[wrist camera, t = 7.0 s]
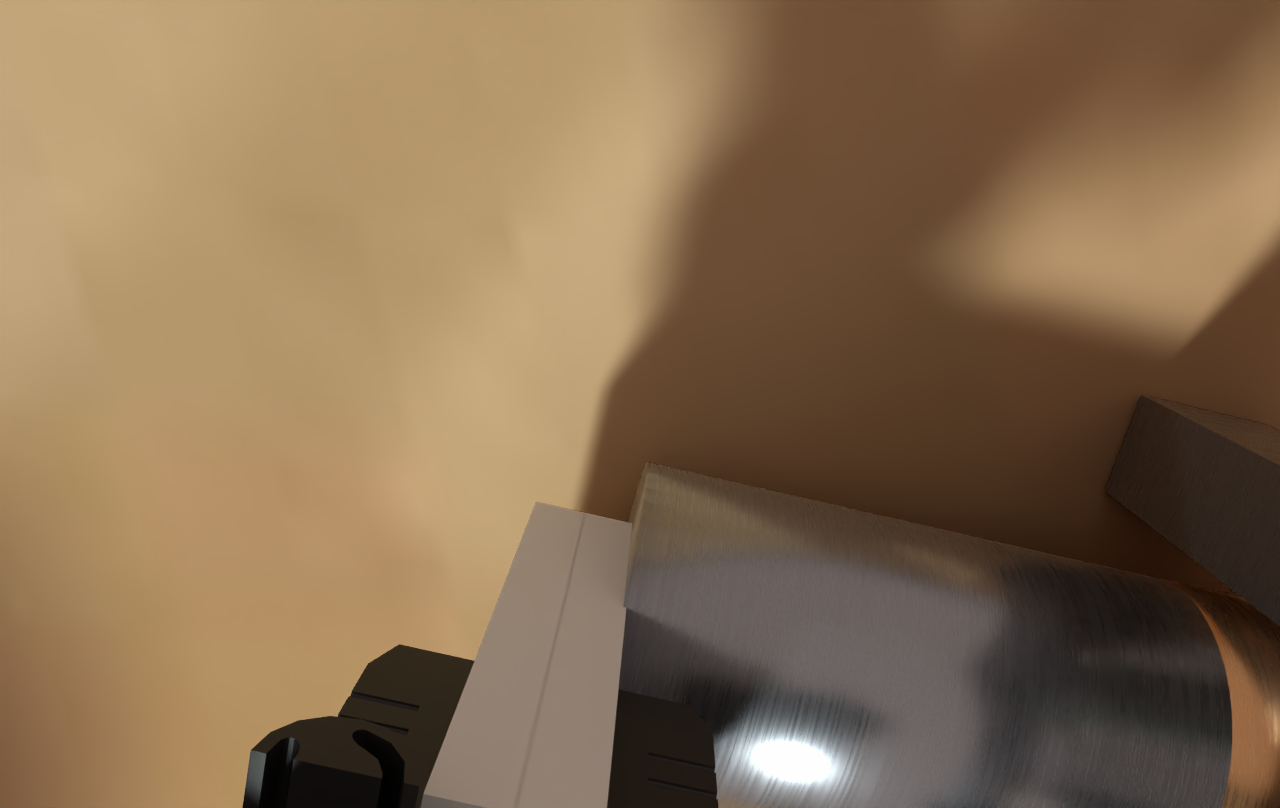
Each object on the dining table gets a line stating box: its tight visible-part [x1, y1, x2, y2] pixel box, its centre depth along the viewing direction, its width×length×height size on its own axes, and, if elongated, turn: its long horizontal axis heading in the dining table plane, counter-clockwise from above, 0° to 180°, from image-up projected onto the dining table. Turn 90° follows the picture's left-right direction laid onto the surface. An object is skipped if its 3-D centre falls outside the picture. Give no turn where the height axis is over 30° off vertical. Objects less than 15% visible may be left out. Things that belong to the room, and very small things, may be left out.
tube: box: [619, 462, 1280, 808], centre depth 14 cm, size 18×4×4 cm, turn 77°
